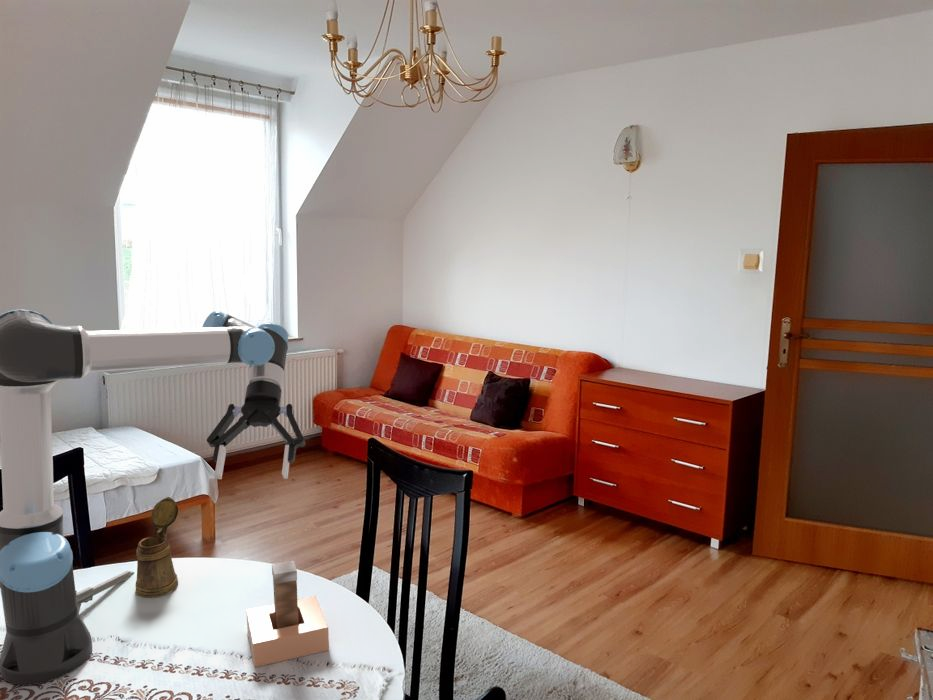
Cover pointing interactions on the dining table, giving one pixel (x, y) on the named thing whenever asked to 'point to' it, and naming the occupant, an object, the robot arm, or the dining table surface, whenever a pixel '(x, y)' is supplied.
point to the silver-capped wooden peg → (285, 594)
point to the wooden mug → (157, 554)
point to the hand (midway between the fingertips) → (251, 476)
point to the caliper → (100, 588)
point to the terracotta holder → (287, 633)
